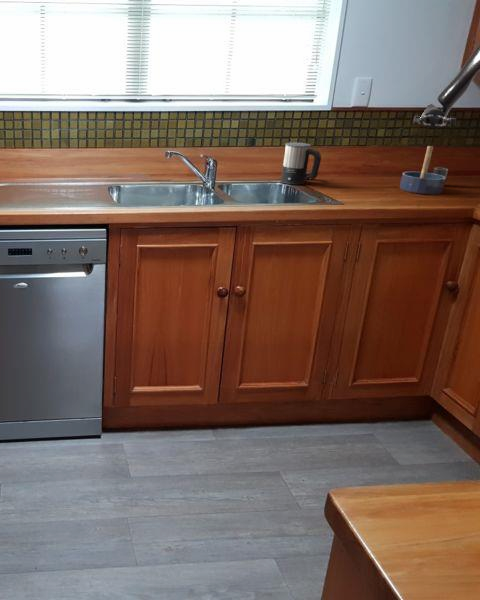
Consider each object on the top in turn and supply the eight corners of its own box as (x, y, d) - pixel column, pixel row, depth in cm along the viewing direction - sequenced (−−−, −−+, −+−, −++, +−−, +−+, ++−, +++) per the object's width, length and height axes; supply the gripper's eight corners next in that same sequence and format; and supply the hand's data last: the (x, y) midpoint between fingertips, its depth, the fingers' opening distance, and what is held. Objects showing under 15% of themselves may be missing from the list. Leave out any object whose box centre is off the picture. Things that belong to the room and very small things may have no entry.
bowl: (440, 190, 231) (444, 174, 229) (442, 197, 219) (446, 180, 217) (399, 185, 237) (402, 170, 234) (398, 192, 225) (402, 176, 223)
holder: (443, 186, 237) (447, 168, 235) (443, 188, 233) (448, 170, 231) (429, 184, 239) (434, 167, 236) (430, 187, 235) (434, 169, 233)
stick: (422, 189, 228) (433, 146, 222) (422, 190, 227) (433, 146, 221) (417, 188, 229) (427, 145, 223) (417, 189, 228) (427, 146, 221)
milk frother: (279, 183, 235) (285, 144, 229) (280, 176, 249) (285, 139, 243) (317, 187, 231) (325, 147, 225) (316, 179, 245) (323, 141, 239)
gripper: (415, 107, 243) (416, 110, 229) (456, 109, 237) (459, 113, 223) (411, 126, 246) (411, 131, 232) (451, 129, 240) (453, 134, 226)
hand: (434, 122), depth 228 cm, fingers open, 8 cm apart
